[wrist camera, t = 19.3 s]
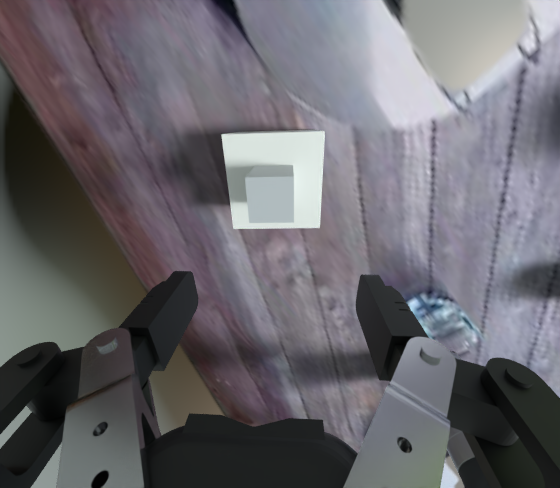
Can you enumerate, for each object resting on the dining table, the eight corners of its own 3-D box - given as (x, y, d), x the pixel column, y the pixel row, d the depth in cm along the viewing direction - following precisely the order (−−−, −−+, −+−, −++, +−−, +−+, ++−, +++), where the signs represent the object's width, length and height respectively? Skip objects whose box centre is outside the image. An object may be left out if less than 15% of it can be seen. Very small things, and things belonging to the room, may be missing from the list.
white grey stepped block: (315, 129, 31) (335, 132, 17) (313, 204, 35) (327, 252, 22) (238, 132, 31) (200, 137, 18) (246, 206, 36) (220, 253, 22)
